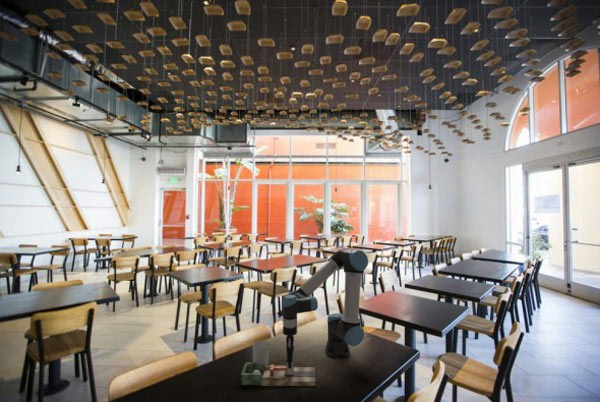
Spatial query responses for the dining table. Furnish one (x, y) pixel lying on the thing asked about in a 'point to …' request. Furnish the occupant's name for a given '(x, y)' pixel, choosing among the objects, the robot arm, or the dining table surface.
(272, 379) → the lane
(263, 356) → the mug
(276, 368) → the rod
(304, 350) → the dining table surface
